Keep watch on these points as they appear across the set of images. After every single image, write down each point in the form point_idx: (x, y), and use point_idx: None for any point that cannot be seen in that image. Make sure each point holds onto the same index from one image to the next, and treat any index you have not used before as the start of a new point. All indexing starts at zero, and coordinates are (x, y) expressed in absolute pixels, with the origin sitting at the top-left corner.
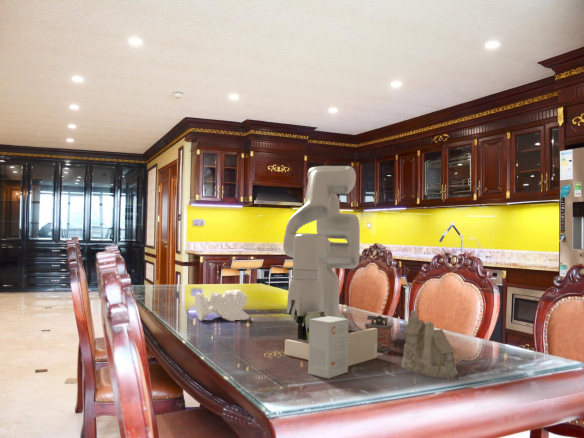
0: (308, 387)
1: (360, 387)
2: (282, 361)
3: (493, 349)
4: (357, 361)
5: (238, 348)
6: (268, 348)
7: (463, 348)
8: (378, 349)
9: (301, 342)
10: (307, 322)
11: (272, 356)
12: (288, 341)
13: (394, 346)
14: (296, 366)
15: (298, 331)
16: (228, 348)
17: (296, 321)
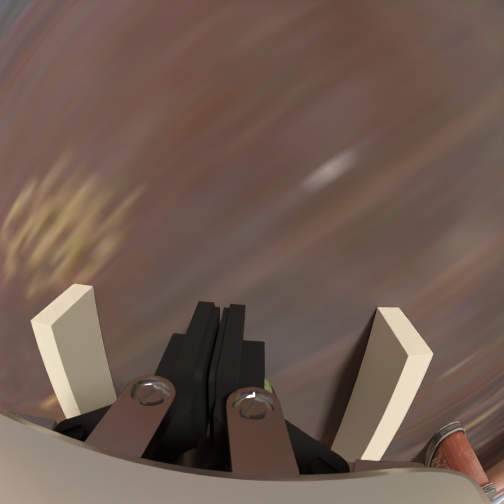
0: None
1: None
2: (17, 338)
3: (497, 495)
4: None
5: (23, 31)
6: (108, 110)
7: (497, 484)
8: (426, 461)
9: (74, 412)
10: None
11: (19, 263)
12: (40, 343)
13: (493, 440)
14: (30, 395)
15: (164, 354)
16: (6, 15)
17: (86, 421)
